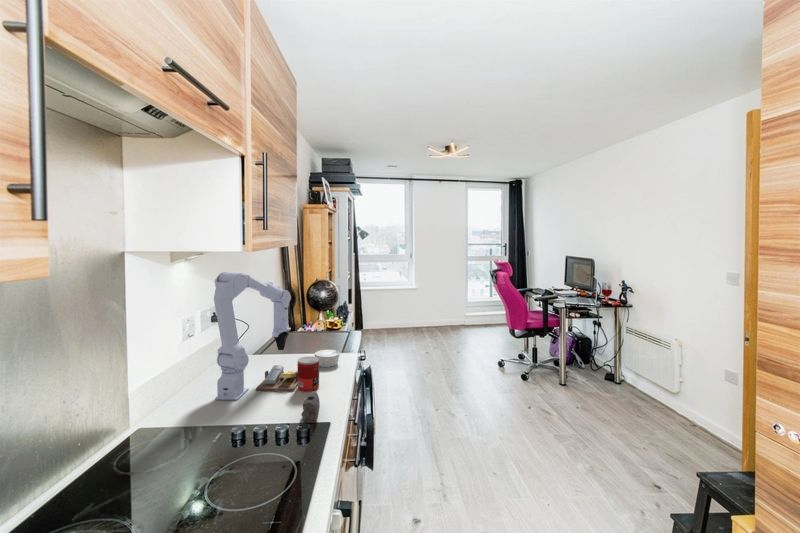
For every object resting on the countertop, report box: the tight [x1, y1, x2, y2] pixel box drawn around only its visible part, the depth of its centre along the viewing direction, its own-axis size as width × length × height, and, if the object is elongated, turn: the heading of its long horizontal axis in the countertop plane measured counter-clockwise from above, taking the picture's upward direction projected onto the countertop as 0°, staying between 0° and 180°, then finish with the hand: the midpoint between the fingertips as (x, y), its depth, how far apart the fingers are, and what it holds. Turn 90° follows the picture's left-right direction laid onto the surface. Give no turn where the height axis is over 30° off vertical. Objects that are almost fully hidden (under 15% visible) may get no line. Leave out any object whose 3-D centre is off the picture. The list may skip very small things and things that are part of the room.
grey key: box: [263, 364, 284, 384], centre depth 141 cm, size 10×4×2 cm, turn 179°
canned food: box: [297, 356, 320, 393], centre depth 136 cm, size 8×8×11 cm
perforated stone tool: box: [301, 391, 321, 424], centre depth 115 cm, size 15×5×7 cm, turn 7°
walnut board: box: [255, 370, 298, 392], centre depth 141 cm, size 16×14×4 cm
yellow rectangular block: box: [280, 370, 298, 378], centre depth 141 cm, size 10×4×2 cm, turn 0°
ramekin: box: [314, 349, 341, 368], centre depth 164 cm, size 11×11×5 cm
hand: (281, 349), depth 152 cm, fingers closed
